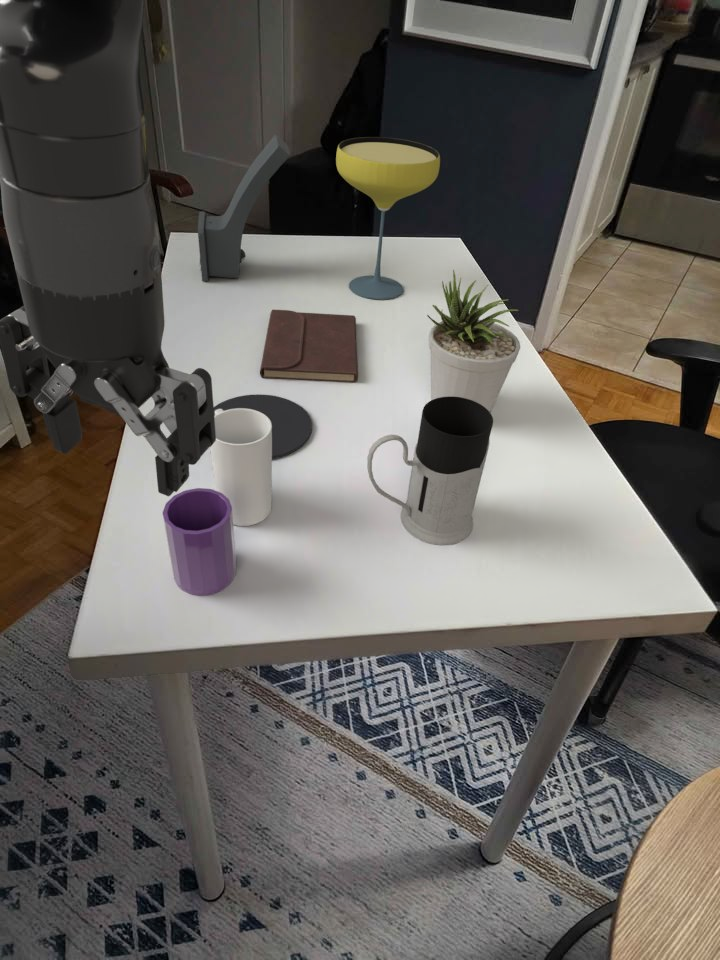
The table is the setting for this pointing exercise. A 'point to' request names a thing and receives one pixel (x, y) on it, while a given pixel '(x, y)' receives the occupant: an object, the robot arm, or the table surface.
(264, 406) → the mat
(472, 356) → the potted plant
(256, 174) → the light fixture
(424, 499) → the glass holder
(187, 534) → the cup
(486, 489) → the table surface
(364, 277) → the cocktail glass
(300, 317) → the notebook
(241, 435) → the mug
